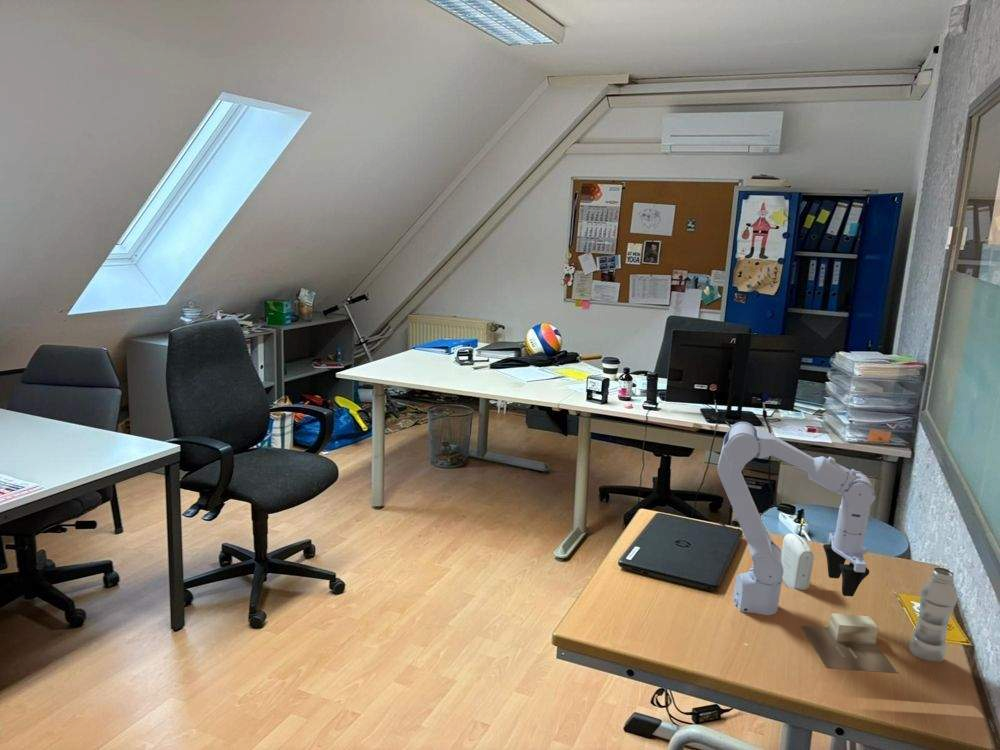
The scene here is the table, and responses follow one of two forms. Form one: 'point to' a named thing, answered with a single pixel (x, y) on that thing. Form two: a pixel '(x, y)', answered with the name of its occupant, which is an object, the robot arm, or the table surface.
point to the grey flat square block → (846, 652)
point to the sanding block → (853, 629)
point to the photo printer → (796, 562)
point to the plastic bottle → (934, 616)
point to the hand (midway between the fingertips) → (840, 586)
